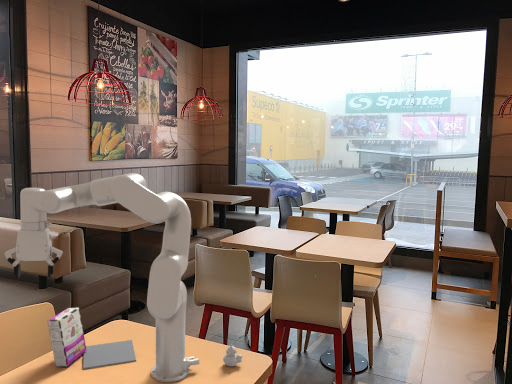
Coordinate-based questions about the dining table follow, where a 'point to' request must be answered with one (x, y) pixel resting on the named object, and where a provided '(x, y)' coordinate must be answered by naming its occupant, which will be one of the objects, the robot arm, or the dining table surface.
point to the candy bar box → (67, 336)
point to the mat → (109, 354)
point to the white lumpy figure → (232, 356)
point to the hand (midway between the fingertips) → (34, 276)
